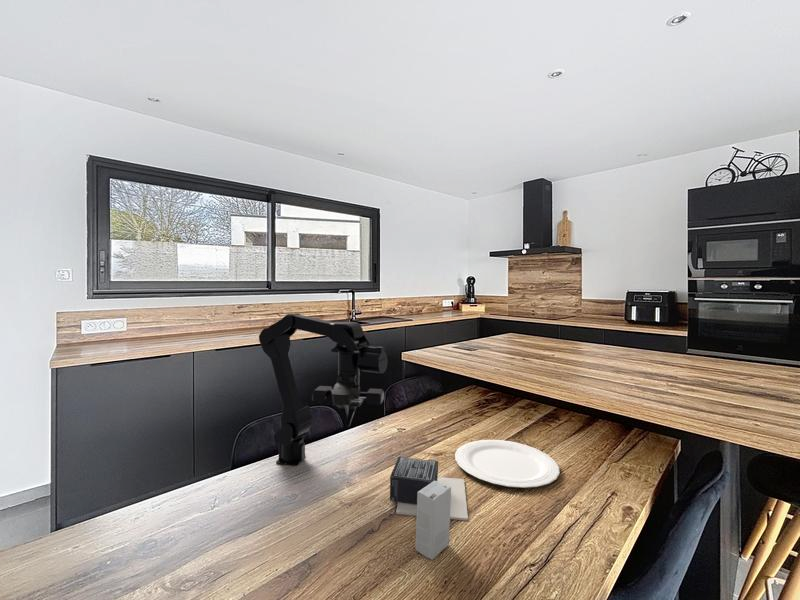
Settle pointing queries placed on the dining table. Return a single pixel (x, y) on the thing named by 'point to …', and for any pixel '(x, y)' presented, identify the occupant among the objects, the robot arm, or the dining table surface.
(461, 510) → the mat
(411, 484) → the small box
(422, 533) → the skincare box
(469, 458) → the plate
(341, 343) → the robot arm
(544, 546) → the dining table surface
